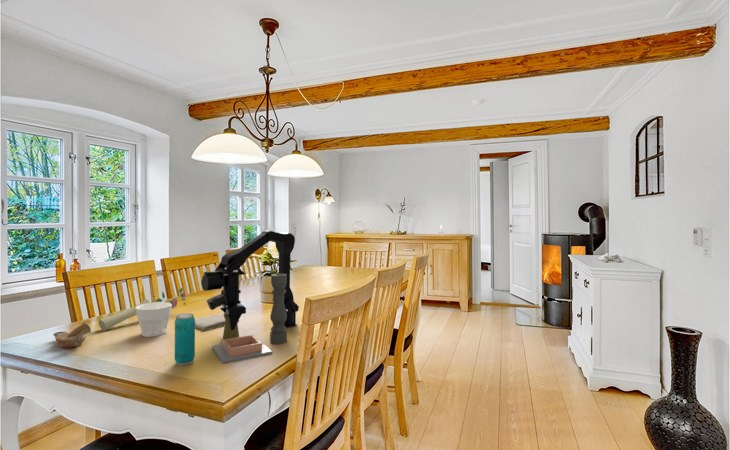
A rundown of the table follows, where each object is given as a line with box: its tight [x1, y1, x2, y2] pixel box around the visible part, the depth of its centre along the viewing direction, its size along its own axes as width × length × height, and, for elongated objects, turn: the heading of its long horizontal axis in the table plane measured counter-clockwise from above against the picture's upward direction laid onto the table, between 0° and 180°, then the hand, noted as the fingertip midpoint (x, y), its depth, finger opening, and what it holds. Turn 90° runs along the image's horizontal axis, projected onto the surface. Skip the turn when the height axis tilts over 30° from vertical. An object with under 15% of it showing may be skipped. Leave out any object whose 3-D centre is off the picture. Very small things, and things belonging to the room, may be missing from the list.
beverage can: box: [174, 313, 196, 366], centre depth 117 cm, size 6×6×15 cm
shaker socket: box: [212, 334, 273, 364], centre depth 128 cm, size 16×16×3 cm
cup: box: [136, 301, 172, 338], centre depth 145 cm, size 12×12×11 cm
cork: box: [222, 311, 240, 340], centre depth 140 cm, size 6×6×11 cm
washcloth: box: [194, 312, 240, 332], centre depth 159 cm, size 12×18×3 cm, turn 147°
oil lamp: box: [52, 321, 92, 349], centre depth 131 cm, size 9×21×10 cm, turn 60°
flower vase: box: [98, 287, 187, 332], centre depth 163 cm, size 12×12×35 cm
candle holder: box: [269, 273, 288, 345], centre depth 138 cm, size 6×6×25 cm
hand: (231, 328), depth 140 cm, fingers closed on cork, 4 cm apart
